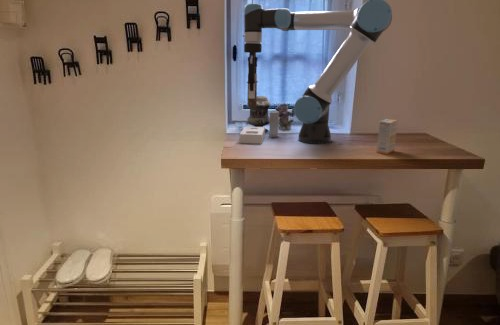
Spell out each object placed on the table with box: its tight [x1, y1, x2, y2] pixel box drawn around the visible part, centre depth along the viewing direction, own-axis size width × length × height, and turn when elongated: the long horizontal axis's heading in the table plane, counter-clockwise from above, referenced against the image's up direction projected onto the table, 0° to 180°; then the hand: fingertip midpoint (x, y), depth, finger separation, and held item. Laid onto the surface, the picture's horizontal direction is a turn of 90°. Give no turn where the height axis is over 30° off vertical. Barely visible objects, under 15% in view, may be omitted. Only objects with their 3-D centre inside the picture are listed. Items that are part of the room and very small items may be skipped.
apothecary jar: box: [247, 95, 271, 133], centre depth 191 cm, size 12×12×18 cm
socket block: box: [239, 126, 266, 145], centre depth 174 cm, size 10×20×4 cm, turn 174°
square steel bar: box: [268, 110, 280, 138], centre depth 179 cm, size 4×4×12 cm
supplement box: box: [376, 118, 399, 155], centre depth 151 cm, size 8×5×13 cm, turn 141°
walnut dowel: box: [247, 73, 258, 107], centre depth 164 cm, size 4×4×14 cm
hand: (252, 97), depth 165 cm, fingers closed on walnut dowel, 4 cm apart
